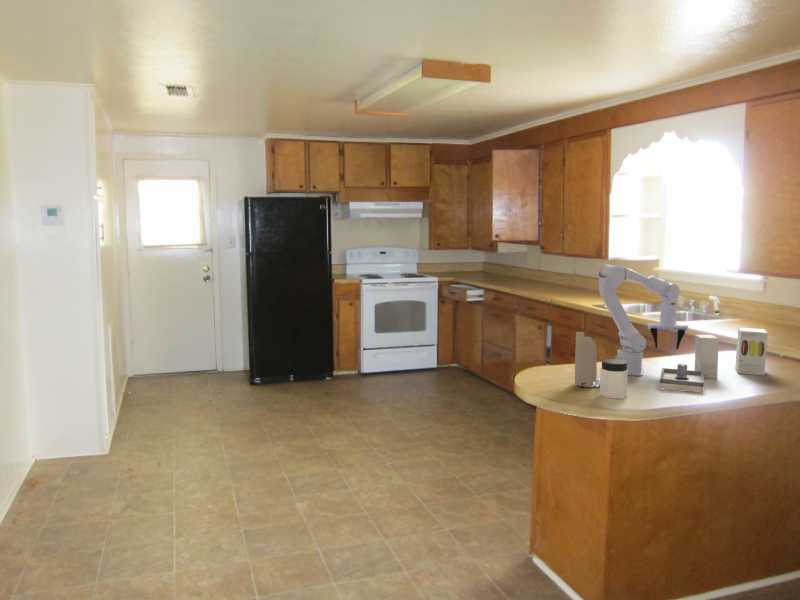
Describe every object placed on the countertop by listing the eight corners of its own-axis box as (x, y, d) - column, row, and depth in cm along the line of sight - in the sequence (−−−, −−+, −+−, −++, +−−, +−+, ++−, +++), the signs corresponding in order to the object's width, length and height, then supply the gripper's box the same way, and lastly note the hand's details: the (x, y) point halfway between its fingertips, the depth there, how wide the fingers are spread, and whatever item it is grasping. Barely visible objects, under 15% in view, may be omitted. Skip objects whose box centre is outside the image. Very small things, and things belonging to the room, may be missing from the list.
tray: (659, 388, 225) (660, 378, 224) (661, 376, 241) (662, 367, 241) (703, 392, 219) (703, 382, 219) (702, 380, 235) (702, 371, 235)
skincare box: (717, 379, 237) (719, 338, 235) (698, 378, 239) (700, 337, 237) (711, 373, 246) (713, 334, 244) (693, 373, 247) (695, 333, 245)
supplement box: (737, 373, 246) (739, 330, 244) (734, 368, 254) (737, 327, 252) (765, 375, 242) (768, 332, 240) (761, 370, 251) (764, 328, 248)
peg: (679, 385, 229) (680, 366, 228) (674, 382, 232) (675, 364, 232) (688, 384, 230) (689, 365, 229) (683, 382, 233) (684, 363, 232)
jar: (606, 390, 222) (607, 357, 221) (629, 394, 217) (631, 360, 216) (596, 396, 216) (597, 361, 214) (619, 400, 210) (621, 365, 209)
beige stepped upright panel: (616, 387, 227) (618, 332, 224) (577, 387, 227) (579, 332, 224) (609, 382, 234) (611, 328, 232) (572, 382, 234) (573, 329, 231)
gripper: (648, 314, 246) (646, 348, 247) (689, 316, 241) (687, 351, 242) (648, 311, 252) (646, 345, 254) (688, 313, 247) (686, 347, 249)
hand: (666, 348), depth 249 cm, fingers open, 7 cm apart
